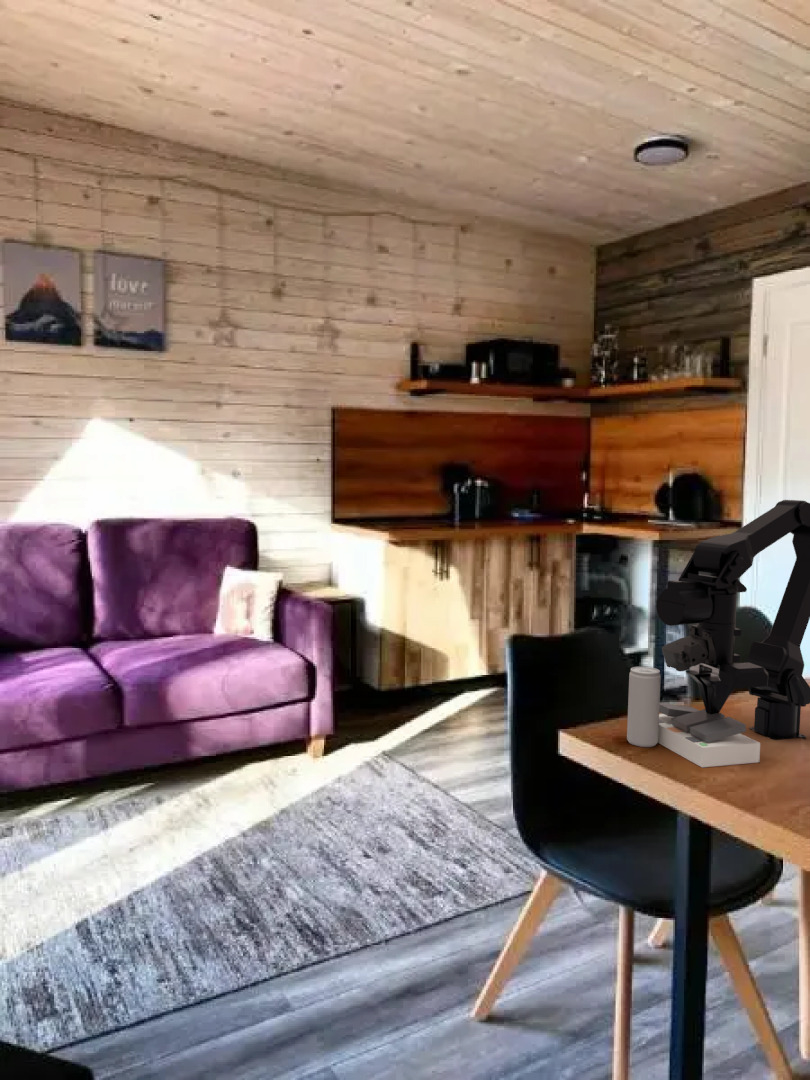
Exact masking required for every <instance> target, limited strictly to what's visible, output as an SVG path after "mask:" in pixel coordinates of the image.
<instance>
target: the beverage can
mask: <svg viewBox="0 0 810 1080" xmlns="http://www.w3.org/2000/svg"><path fill="white" fill-rule="evenodd" d="M660 673H661V671H660V669H658V668H654V667H649V666H648V667H647V666H634V667H631V668H630V672H629V674H628V675H629V676H628V678H629V679H628V697H627V698H628V703H627V704H628V705H627V723H626V724H627V729H626V740H627V741H628V743H629V744H630V745H633V746H636V747H641V748H653V747H655V746H656V745H657V744H659V743H658V728H659V714H660V712H659V705H660V703H661V702H660V701H661V699H660V698H661V681H662V680H661V678H662V677H661V676H662V675H661V674H660Z"/></svg>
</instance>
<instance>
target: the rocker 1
mask: <svg viewBox="0 0 810 1080" xmlns="http://www.w3.org/2000/svg"><path fill="white" fill-rule="evenodd" d="M696 711H700V709H697V708H695V707H692V706H689V705H680V704H674V703H673V704H671V703H665V702H660V705H659V713H660V714H665V715H667V716H671V717H677V716H681V715H685V714H688V713H692V712H696Z"/></svg>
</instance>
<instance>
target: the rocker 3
mask: <svg viewBox="0 0 810 1080" xmlns="http://www.w3.org/2000/svg"><path fill="white" fill-rule="evenodd" d="M690 733H691V735H692V736H694V737H696V738H698V739H700V740H702V741H704V742H706V743H707V742H711V741H714V740H718V739H722V738H725V737H729V736H732V735H736V734H743V733H747V727H746V724H745V722H744V723H743V721H739V720H737V719H736V718H735V719H734V718H733V717H731V716H727V717H726V716H725V718H722V719H718V720H715V721H711V722H707V723H704V724H700V725H696V726H693V727H690Z"/></svg>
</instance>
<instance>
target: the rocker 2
mask: <svg viewBox="0 0 810 1080" xmlns="http://www.w3.org/2000/svg"><path fill="white" fill-rule="evenodd" d="M699 710H700V709H699ZM722 718H726V715H725V713H724V714H723V713H722V712H719V713H715V714H711V715H710V714H708V713H706V710H705V708H704V709H701V710H700V711H696V712H692V713H688V714H685V715H681V716H677V717H673V718H671V719H672V725H673V726H675V727H677V728H679V729H681V730H683V731H685V732H686V733H688V732H690V727H693V726H696V725H700V724H704V723H707V722H711V721H715V720H718V719H722Z"/></svg>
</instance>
